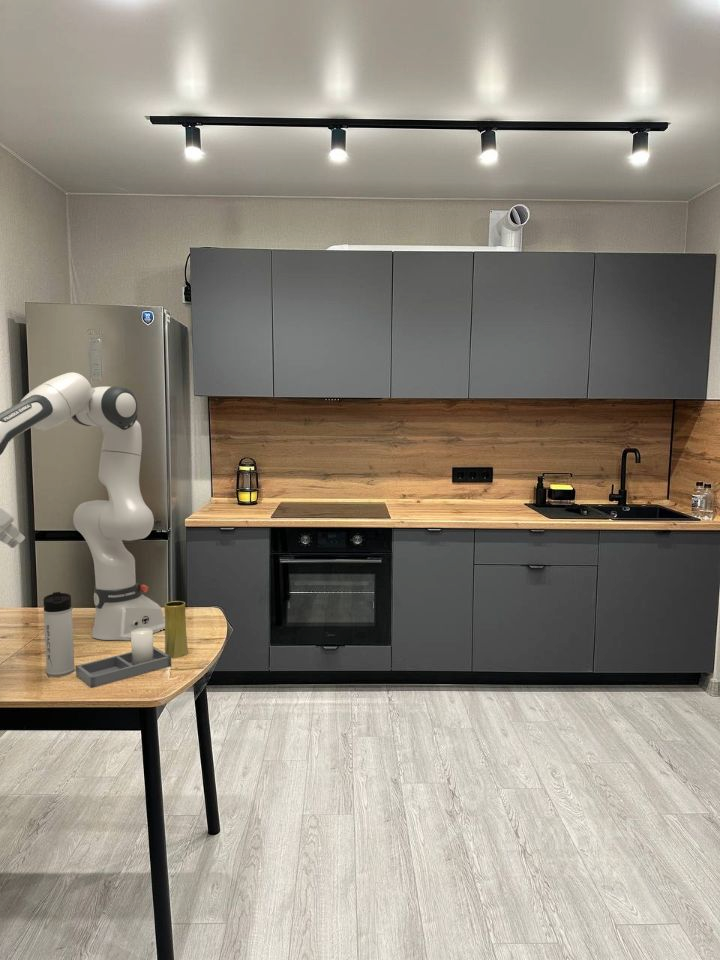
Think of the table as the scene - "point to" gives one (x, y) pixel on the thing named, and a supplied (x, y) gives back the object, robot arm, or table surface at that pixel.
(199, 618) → the table surface
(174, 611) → the vase
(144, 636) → the white cylinder
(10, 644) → the table surface
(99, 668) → the caddy
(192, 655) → the table surface
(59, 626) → the travel mug
